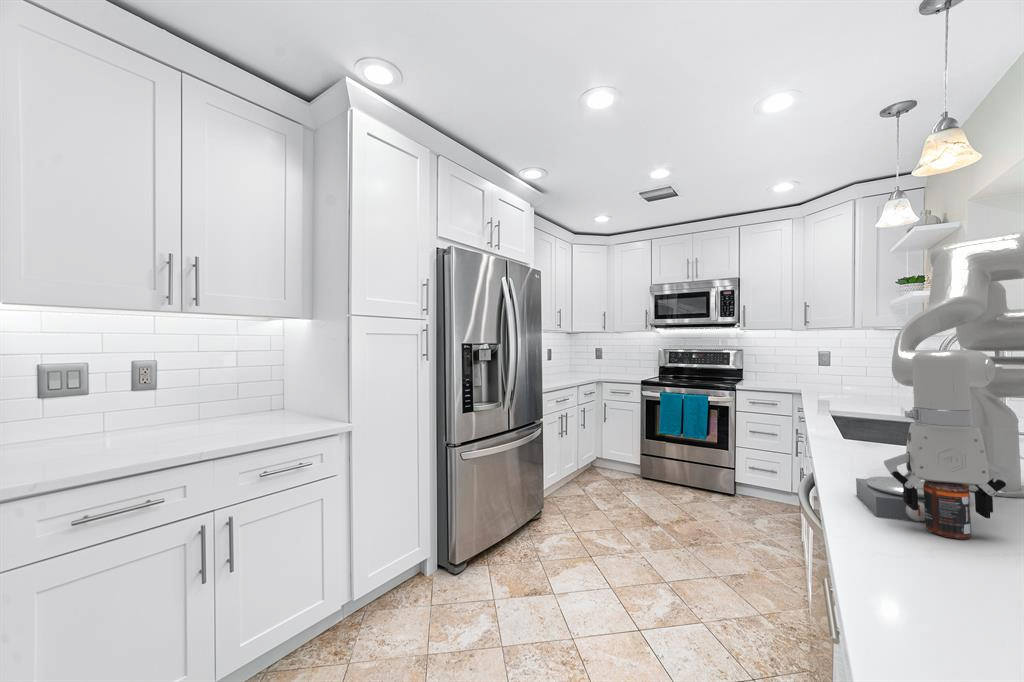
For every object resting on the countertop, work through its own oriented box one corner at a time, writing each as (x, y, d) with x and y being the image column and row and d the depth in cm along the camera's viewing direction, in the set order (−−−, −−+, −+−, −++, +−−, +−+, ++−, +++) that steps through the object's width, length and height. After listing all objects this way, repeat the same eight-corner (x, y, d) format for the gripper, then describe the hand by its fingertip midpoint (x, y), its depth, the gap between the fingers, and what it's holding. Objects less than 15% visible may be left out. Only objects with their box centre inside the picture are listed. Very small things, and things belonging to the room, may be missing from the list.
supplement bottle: (981, 541, 75) (978, 476, 75) (941, 539, 76) (938, 475, 77) (953, 528, 81) (950, 467, 81) (917, 526, 82) (914, 466, 82)
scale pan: (859, 477, 99) (859, 474, 99) (928, 483, 93) (928, 480, 93) (877, 493, 88) (876, 489, 88) (956, 501, 83) (956, 497, 83)
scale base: (856, 495, 100) (856, 478, 100) (930, 503, 94) (929, 484, 94) (877, 517, 87) (876, 497, 87) (964, 527, 81) (963, 506, 81)
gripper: (889, 418, 80) (893, 511, 79) (1021, 423, 72) (1026, 526, 71) (876, 413, 86) (879, 499, 86) (995, 417, 79) (1000, 511, 78)
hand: (946, 511), depth 79 cm, fingers open, 9 cm apart
